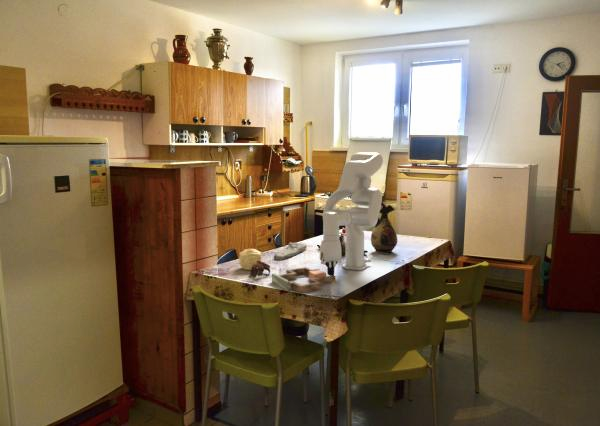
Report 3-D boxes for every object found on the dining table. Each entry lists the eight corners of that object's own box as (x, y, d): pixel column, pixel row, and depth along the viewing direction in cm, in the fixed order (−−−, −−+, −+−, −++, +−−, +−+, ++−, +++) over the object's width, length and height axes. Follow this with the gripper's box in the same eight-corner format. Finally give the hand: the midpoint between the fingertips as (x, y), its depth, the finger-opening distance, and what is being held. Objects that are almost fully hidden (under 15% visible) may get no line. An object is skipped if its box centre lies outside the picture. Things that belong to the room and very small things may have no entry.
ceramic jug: (395, 249, 298) (397, 200, 294) (398, 255, 283) (399, 203, 279) (367, 249, 300) (368, 200, 295) (368, 255, 285) (369, 203, 280)
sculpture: (240, 272, 248) (239, 251, 246) (238, 266, 259) (237, 246, 258) (262, 271, 250) (262, 250, 248) (260, 265, 261) (259, 245, 260)
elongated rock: (269, 262, 275) (285, 264, 271) (269, 252, 274) (285, 255, 270) (295, 246, 306) (310, 248, 302) (295, 238, 305) (310, 240, 301)
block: (320, 278, 238) (320, 270, 237) (326, 281, 233) (326, 272, 232) (309, 279, 235) (309, 271, 235) (314, 282, 230) (314, 274, 229)
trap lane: (311, 272, 248) (311, 264, 247) (342, 285, 225) (342, 276, 224) (266, 279, 235) (266, 271, 235) (293, 294, 212) (293, 285, 212)
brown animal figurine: (247, 274, 246) (254, 259, 247) (264, 282, 247) (271, 267, 249) (250, 274, 234) (257, 258, 236) (268, 282, 235) (275, 266, 237)
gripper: (339, 234, 242) (339, 271, 244) (313, 237, 234) (313, 275, 237) (348, 237, 235) (348, 274, 238) (322, 240, 228) (321, 279, 231)
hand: (330, 274), depth 237 cm, fingers closed
